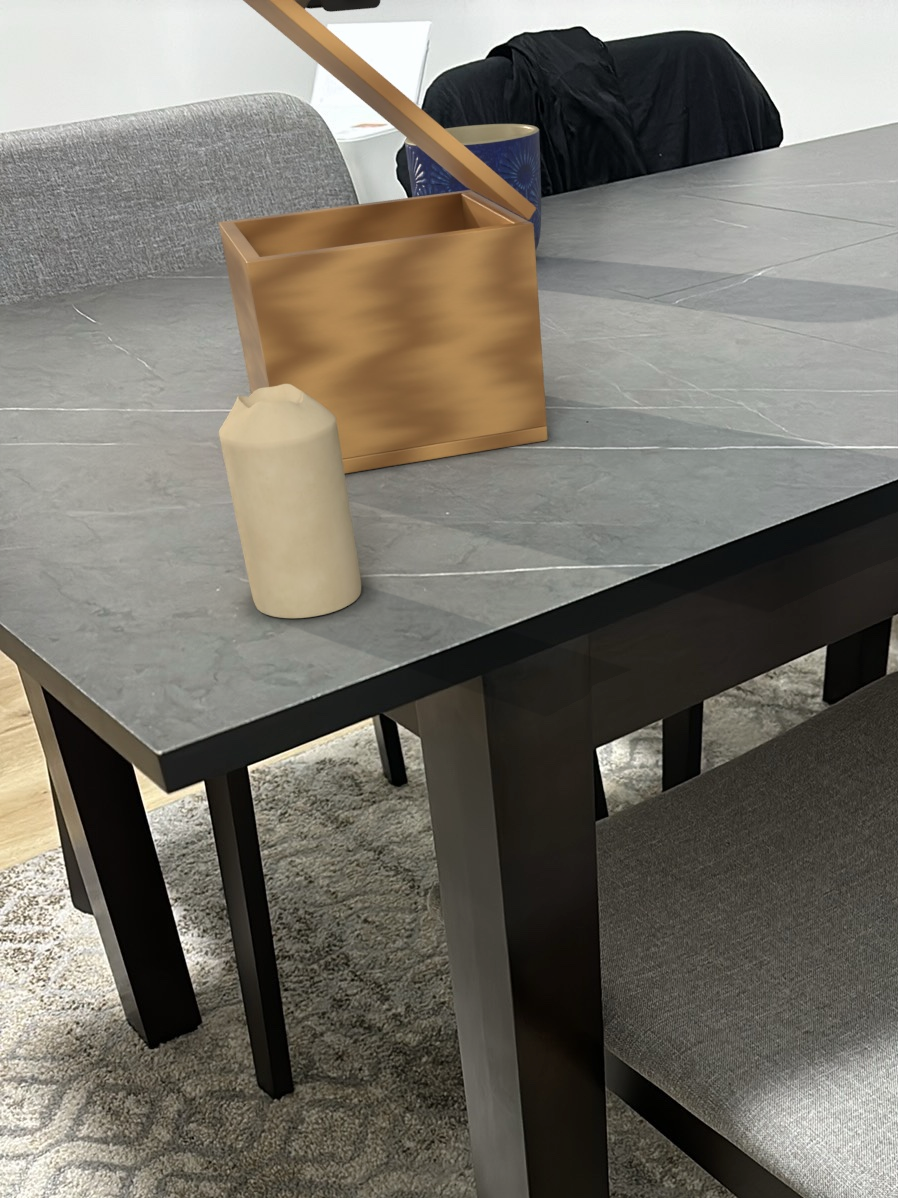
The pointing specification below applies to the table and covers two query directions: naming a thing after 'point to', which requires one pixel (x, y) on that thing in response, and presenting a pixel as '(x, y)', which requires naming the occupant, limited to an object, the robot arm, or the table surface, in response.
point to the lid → (389, 101)
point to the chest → (397, 322)
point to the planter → (496, 146)
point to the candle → (291, 503)
